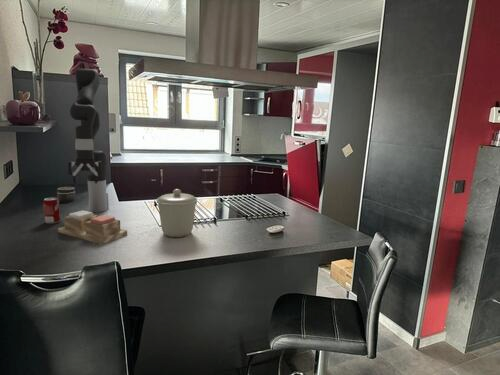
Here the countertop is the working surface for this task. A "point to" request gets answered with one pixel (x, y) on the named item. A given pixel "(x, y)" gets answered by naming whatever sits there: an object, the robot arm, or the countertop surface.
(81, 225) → the frame
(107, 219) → the red key
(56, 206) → the soda can
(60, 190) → the jar
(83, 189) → the countertop surface
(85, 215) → the white key
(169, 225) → the canister
